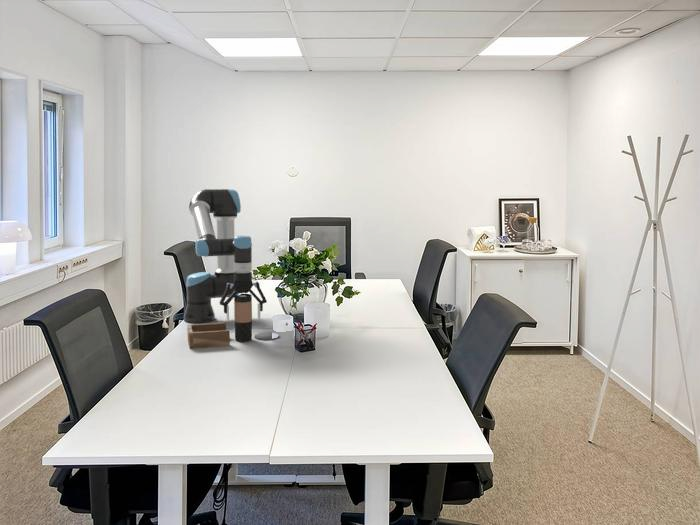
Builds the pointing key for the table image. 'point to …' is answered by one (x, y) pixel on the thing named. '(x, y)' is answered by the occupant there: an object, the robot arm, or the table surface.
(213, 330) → the frame
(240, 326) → the travel mug
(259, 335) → the coaster
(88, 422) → the table surface
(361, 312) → the table surface
